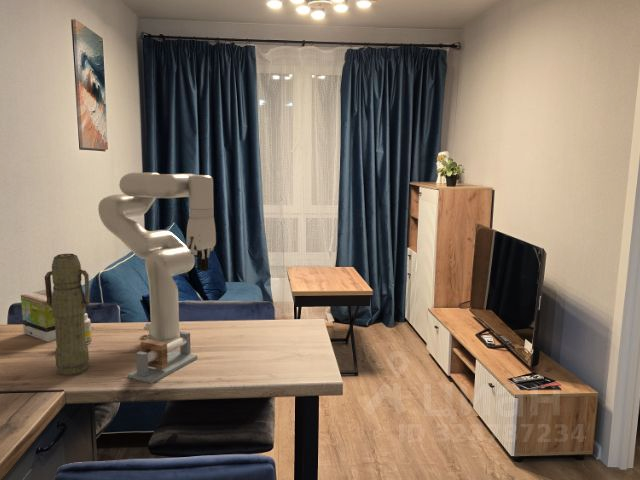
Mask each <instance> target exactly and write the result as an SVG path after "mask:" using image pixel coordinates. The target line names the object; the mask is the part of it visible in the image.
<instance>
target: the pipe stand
mask: <svg viewBox="0 0 640 480" xmlns="http://www.w3.org/2000/svg"><path fill="white" fill-rule="evenodd" d="M178 348H180V349H179V351H177V349H178ZM135 356H136V357H135V361H136V370H133V371H132V372H131V371H130V372H129V373H128V374H127V378H129V379H132V378H133V380H137V381H141V382H145V383H149V384H154V383H156V382H157V381H159V380H161V379H163V378H164V377H166V376H168V375H170V374H172V373H173V372H176V371H178V370H179V369H181V368H182V367H184V366H187V365H188V364H190V363H193V362H194V361H195V360H197V359H198V355H197V354H193V353H191V333H190V332H187V331H182V332H181V333H180V338H179V339H177V340H174V341H172V342H170V343H168V344H167V360H168V367H166V368H164V369H158V368H154V367H149V366H148V363H149V362H151V361H153V360H158V358H157V350H154V349H151V352H149V353H146V352H141V350H140V351H138V352H136V353H135Z"/></svg>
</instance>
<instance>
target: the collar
mask: <svg viewBox="0 0 640 480" xmlns="http://www.w3.org/2000/svg"><path fill="white" fill-rule="evenodd" d="M140 346H141V348H140V351H141V352H146V353H149V352H151V350H152V349H154V350H157V358H158V360H153V361H151V362H149V363H148V366H149V367H154V368H158V369H164V368H166V367H168V360H167V354H168V353H167V343H164V342H158V341H153V340H148V339H147V338H146V339H144V340H141V341H140Z"/></svg>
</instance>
